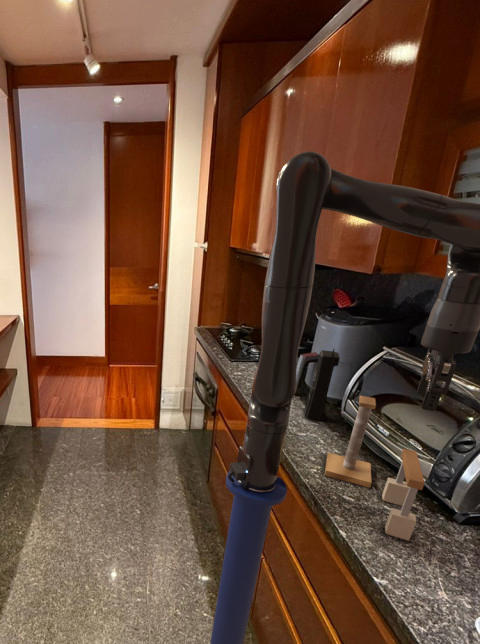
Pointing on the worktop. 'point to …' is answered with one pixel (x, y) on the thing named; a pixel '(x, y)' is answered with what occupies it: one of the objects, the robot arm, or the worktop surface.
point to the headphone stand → (353, 451)
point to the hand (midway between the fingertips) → (425, 401)
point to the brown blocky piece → (403, 495)
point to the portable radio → (321, 385)
